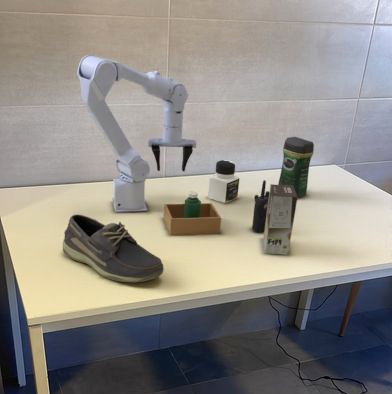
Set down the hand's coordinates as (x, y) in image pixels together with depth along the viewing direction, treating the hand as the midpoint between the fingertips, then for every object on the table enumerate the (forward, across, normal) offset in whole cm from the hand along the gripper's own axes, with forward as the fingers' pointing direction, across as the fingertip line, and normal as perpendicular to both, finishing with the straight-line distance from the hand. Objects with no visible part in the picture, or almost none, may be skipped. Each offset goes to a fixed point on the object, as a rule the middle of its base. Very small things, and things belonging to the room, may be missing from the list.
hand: (170, 170), depth 167 cm
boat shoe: (+10, +19, +46) cm, 50 cm away
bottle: (+9, -4, +21) cm, 23 cm away
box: (+10, -4, +21) cm, 23 cm away
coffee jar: (+10, -42, -7) cm, 44 cm away
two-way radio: (+10, -23, +23) cm, 34 cm away
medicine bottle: (+10, -17, -2) cm, 20 cm away
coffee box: (+10, -25, +35) cm, 44 cm away
